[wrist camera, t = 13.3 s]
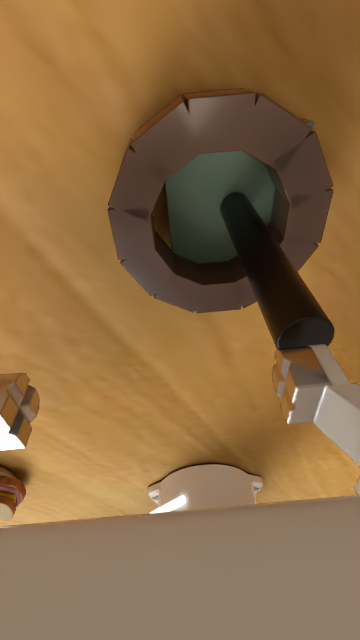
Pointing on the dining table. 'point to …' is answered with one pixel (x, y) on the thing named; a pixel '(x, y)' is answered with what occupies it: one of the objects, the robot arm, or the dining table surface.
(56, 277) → the dining table surface
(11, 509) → the toy sandwich meal
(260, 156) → the ring
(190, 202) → the stand
